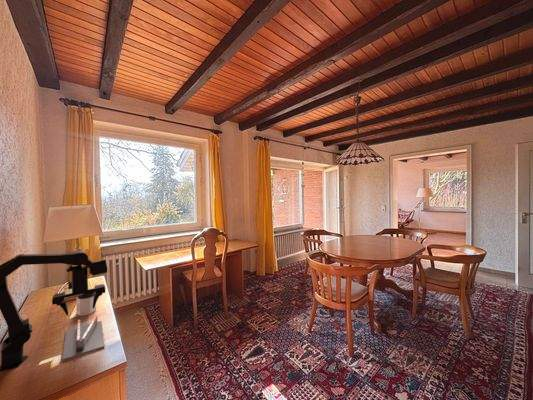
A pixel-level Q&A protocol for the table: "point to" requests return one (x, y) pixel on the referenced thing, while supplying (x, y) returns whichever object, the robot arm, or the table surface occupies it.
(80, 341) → the tongs fixed arm
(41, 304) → the table surface
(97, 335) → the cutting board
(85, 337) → the tongs moving arm
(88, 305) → the jar
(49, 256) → the robot arm
